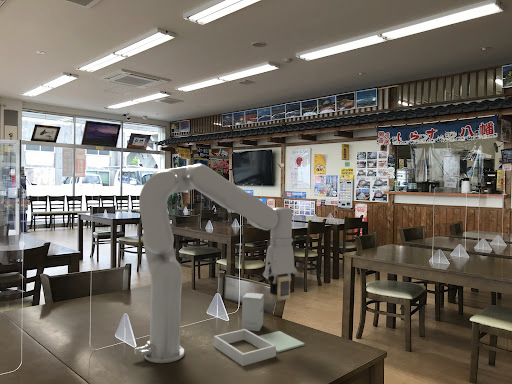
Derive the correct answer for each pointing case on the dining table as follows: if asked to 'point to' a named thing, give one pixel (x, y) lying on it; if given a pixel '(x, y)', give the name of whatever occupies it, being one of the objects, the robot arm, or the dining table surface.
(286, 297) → the birch box
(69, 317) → the dining table surface
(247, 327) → the supplement box
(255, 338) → the bin
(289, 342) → the mat
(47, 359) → the dining table surface
